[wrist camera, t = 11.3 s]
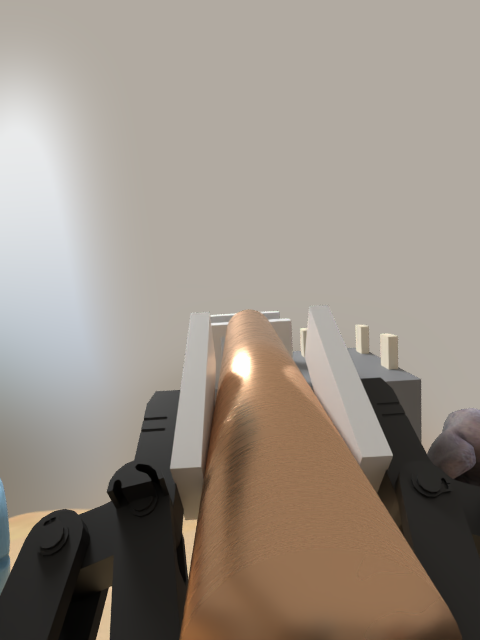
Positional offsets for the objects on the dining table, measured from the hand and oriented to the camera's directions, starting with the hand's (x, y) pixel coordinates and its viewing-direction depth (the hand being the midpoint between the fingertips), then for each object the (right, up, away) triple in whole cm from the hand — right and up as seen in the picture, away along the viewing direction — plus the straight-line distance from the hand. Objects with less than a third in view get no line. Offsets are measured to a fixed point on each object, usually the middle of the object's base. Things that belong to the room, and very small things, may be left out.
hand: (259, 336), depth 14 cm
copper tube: (0, -4, +4) cm, 6 cm away
